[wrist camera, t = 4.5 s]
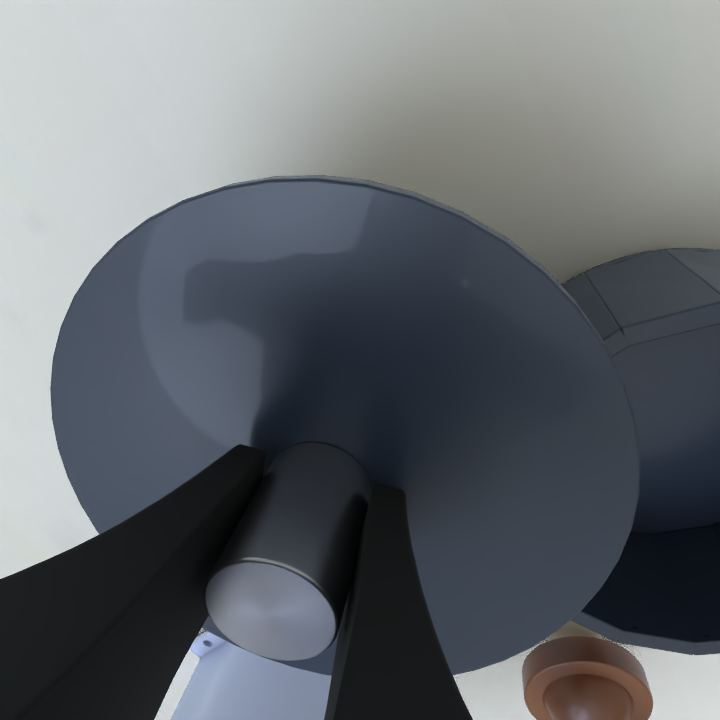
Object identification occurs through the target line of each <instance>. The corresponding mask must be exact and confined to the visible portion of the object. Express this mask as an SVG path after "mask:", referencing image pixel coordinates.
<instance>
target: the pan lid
mask: <svg viewBox="0 0 720 720" xmlns="http://www.w3.org/2000/svg"><path fill="white" fill-rule="evenodd" d="M50 390H51V406H52V420H53V425H54V430H55V435H56V440H57V445H58V450H59V452H60V455H61V458H62V461H63V464H64V467H65V470H66V473H67V476H68V479H69V481H70V483H71V485H72V487H73V489H74V491H75V493H76V496H77V498H78V500H79V502H80V504H81V506H82V507H83V509H84V511H85V512H86V514H87V516H88V517H89V519H90V520H91V522H92V524H93V525H94V527H95V529H96V530H97V532H98V533H99V534H101V533H103V532H105V531H107V530H109V529H111V528H112V527H114V526H116V525H118V524H120V523H121V522H123V521H125V520H127V519H128V518H130V517H132V516H133V515H135V514H136V513H138V512H140V511H141V510H143V509H145V508H146V507H148V506H150V505H151V504H153V503H155V502H156V501H158V500H159V499H161V498H163V497H164V496H166V495H167V494H169V493H170V492H172V491H173V490H175V489H176V488H178V487H179V486H181V485H182V484H183V483H185V482H186V481H188V480H189V479H191V478H192V477H194V476H195V475H197V474H198V473H199V472H201V471H202V470H204V469H205V468H206V467H208V466H209V465H210V464H212V463H213V462H215V461H216V460H217V459H219V458H220V457H221V456H223V455H224V454H225V453H227V452H228V451H229V450H231V449H232V448H233V447H235V446H237V445H239V444H242V445H246V446H249V447H253V448H256V449H260V450H264V451H266V458H265V465H264V472H263V479H262V481H261V483H260V485H259V487H258V489H257V490H256V492H255V494H254V496H253V498H252V499H251V501H250V503H249V505H248V507H247V508H246V510H245V512H244V514H243V516H242V517H241V519H240V521H239V523H238V525H237V526H236V528H235V530H234V532H233V534H232V535H231V537H230V539H229V541H228V543H227V544H226V546H225V548H224V550H223V552H222V553H221V555H220V557H219V559H218V561H217V562H216V564H215V566H214V568H213V570H212V571H211V573H210V575H209V577H208V579H207V580H206V583H205V587H204V603H205V607H206V610H207V612H208V615H209V616H208V617H207V619H206V621H205V623H204V624H203V626H202V628H203V629H205V630H207V631H208V632H210V633H212V634H214V635H216V636H218V637H220V638H221V639H223V640H225V641H227V642H229V643H231V644H233V645H235V646H237V647H240V648H242V649H244V650H247V651H249V652H251V653H254V654H256V655H258V656H261V657H263V658H266V659H269V660H272V661H275V662H278V663H281V664H284V665H287V666H290V667H294V668H298V669H302V670H306V671H310V672H314V673H318V674H323V675H329V676H332V670H333V664H334V658H335V652H336V646H337V639H338V633H339V628H340V624H341V620H342V616H343V612H344V608H345V604H346V600H347V596H348V592H349V588H350V584H351V580H352V576H353V572H354V568H355V563H356V558H357V552H358V546H359V540H360V536H361V532H362V528H363V524H364V520H365V517H366V513H367V509H368V505H369V501H370V498H371V494H372V490H373V486H374V482H377V483H381V484H384V485H388V486H391V487H395V488H398V489H402V490H403V491H404V493H405V494H406V506H407V518H408V525H409V532H410V538H411V543H412V548H413V553H414V557H415V562H416V566H417V570H418V574H419V579H420V582H421V586H422V590H423V593H424V597H425V600H426V603H427V607H428V610H429V613H430V616H431V619H432V622H433V625H434V628H435V631H436V634H437V637H438V640H439V643H440V645H441V648H442V650H443V653H444V656H445V658H446V661H447V663H448V666H449V668H450V671H451V673H452V675H456V674H461V673H465V672H470V671H474V670H477V669H480V668H483V667H486V666H489V665H492V664H495V663H498V662H501V661H504V660H506V659H508V658H510V657H512V656H515V655H517V654H519V653H521V652H523V651H525V650H527V649H529V648H531V647H533V646H535V645H536V644H538V643H539V642H541V641H542V640H544V639H546V638H547V637H549V636H550V635H552V634H553V633H555V632H556V631H558V630H559V629H560V628H561V627H563V626H564V625H565V624H566V623H567V622H569V621H570V620H571V619H572V618H573V617H574V616H576V615H577V614H578V613H579V612H580V611H581V610H582V609H583V608H584V607H585V606H586V605H587V603H588V602H589V601H590V600H591V599H592V598H593V597H594V595H595V594H596V593H597V592H598V591H599V590H600V589H601V587H602V586H603V584H604V583H605V581H606V580H607V578H608V576H609V575H610V573H611V572H612V570H613V568H614V567H615V565H616V564H617V562H618V560H619V558H620V556H621V553H622V551H623V548H624V546H625V544H626V541H627V539H628V536H629V534H630V532H631V529H632V525H633V520H634V516H635V511H636V507H637V502H638V498H639V487H640V464H641V457H640V449H639V442H638V434H637V426H636V420H635V417H634V414H633V410H632V407H631V404H630V401H629V397H628V394H627V391H626V388H625V384H624V382H623V380H622V378H621V376H620V373H619V371H618V369H617V367H616V365H615V363H614V361H613V359H612V357H611V355H610V353H609V351H608V349H607V347H606V345H605V343H604V342H603V340H602V338H601V336H600V334H599V333H598V332H597V330H596V329H595V327H594V326H593V325H592V323H591V322H590V320H589V319H588V318H587V316H586V315H585V313H584V312H583V310H582V309H581V308H580V306H579V305H578V303H577V302H576V301H575V299H574V298H573V297H572V296H571V295H570V294H569V293H568V292H567V291H566V290H565V289H564V288H563V287H562V286H561V285H560V284H559V283H558V281H557V280H556V279H555V278H554V277H553V276H552V275H551V274H550V273H549V272H548V271H547V270H546V269H545V268H544V267H543V266H542V265H541V264H539V263H538V262H537V261H536V260H534V259H533V258H532V257H531V256H529V255H528V254H527V253H525V252H524V251H523V250H522V249H520V248H519V247H518V246H516V245H515V244H514V243H513V242H511V241H510V240H509V239H508V238H506V237H505V236H503V235H502V234H500V233H498V232H496V231H495V230H493V229H491V228H490V227H488V226H486V225H484V224H483V223H481V222H479V221H477V220H476V219H474V218H472V217H471V216H469V215H467V214H465V213H464V212H462V211H459V210H457V209H454V208H452V207H450V206H447V205H445V204H442V203H440V202H437V201H435V200H433V199H430V198H428V197H425V196H423V195H420V194H418V193H415V192H411V191H407V190H403V189H399V188H396V187H392V186H388V185H384V184H380V183H376V182H373V181H368V180H359V179H351V178H342V177H334V176H325V175H306V176H274V177H268V178H263V179H257V180H251V181H245V182H239V183H233V184H230V185H227V186H224V187H221V188H218V189H215V190H212V191H209V192H206V193H203V194H200V195H197V196H194V197H191V198H188V199H185V200H183V201H181V202H179V203H177V204H175V205H173V206H171V207H169V208H167V209H165V210H163V211H162V212H160V213H158V214H156V215H154V216H152V217H150V218H148V219H147V220H145V221H144V222H143V223H141V224H140V225H139V226H137V227H136V228H135V229H133V230H132V231H131V232H129V233H128V234H127V235H125V236H124V237H123V238H122V239H120V240H119V241H118V242H117V243H116V244H115V245H114V246H113V247H112V248H111V249H110V250H109V251H108V252H107V253H106V254H105V255H104V256H103V258H102V259H101V260H100V261H99V262H98V263H97V264H96V265H95V266H94V267H93V268H92V270H91V271H90V273H89V275H88V276H87V278H86V279H85V281H84V282H83V284H82V285H81V287H80V288H79V290H78V291H77V293H76V294H75V296H74V298H73V300H72V302H71V305H70V307H69V309H68V312H67V314H66V316H65V319H64V321H63V323H62V325H61V328H60V332H59V336H58V340H57V344H56V348H55V352H54V356H53V365H52V376H51V388H50Z"/></svg>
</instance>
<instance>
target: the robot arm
mask: <svg viewBox="0 0 720 720" xmlns="http://www.w3.org/2000/svg"><path fill="white" fill-rule="evenodd" d="M265 458H266V451H264V450H260V449H256V448H253V447H249V446H246V445H242V444H239V445H237V446H235V447H233V448H232V449H231V450H229V451H228V452H227V453H225V454H224V455H223V456H221V457H220V458H219V459H217V460H216V461H215V462H213V463H212V464H210V465H209V466H208V467H206V468H205V469H204V470H202V471H201V472H199V473H198V474H197V475H195V476H194V477H192V478H191V479H189V480H188V481H186V482H185V483H183V484H182V485H181V486H179V487H178V488H176V489H175V490H173V491H172V492H170V493H169V494H167V495H166V496H164V497H163V498H161V499H159V500H158V501H156V502H155V503H153V504H151V505H150V506H148V507H146V508H145V509H143V510H141V511H140V512H138V513H136V514H135V515H133V516H132V517H130V518H128V519H127V520H125V521H123V522H121V523H120V524H118V525H116V526H114V527H112V528H111V529H109V530H107V531H105V532H103V533H101V534H99V535H98V536H96V537H94V538H92V539H90V540H88V541H86V542H84V543H82V544H80V545H78V546H76V547H74V548H72V549H70V550H67V551H65V552H63V553H61V554H59V555H56V556H54V557H52V558H50V559H48V560H45V561H43V562H41V563H38V564H36V565H34V566H31V567H29V568H27V569H24V570H22V571H20V572H17V573H15V574H12V575H10V576H7V577H5V578H2V579H0V720H154V719H155V717H156V714H157V712H158V710H159V708H160V706H161V704H162V701H163V699H164V697H165V695H166V693H167V691H168V689H169V686H170V684H171V682H172V680H173V678H174V676H175V674H176V672H177V670H178V669H179V667H180V665H181V663H182V661H183V659H184V657H185V655H186V654H187V652H188V650H189V649H191V651H192V652H193V653H194V654H196V655H197V656H198V657H199V658H201V659H200V661H199V663H198V665H197V667H196V669H195V671H194V673H193V675H192V677H191V679H190V681H189V683H188V685H187V687H186V689H185V691H184V693H183V695H182V697H181V699H180V701H179V703H178V706H177V708H176V710H175V712H174V714H173V716H172V718H171V720H473V719H472V717H471V715H470V713H469V711H468V709H467V707H466V705H465V703H464V701H463V699H462V696H461V694H460V692H459V690H458V687H457V685H456V682H455V680H454V678H453V675H452V673H451V671H450V668H449V666H448V663H447V661H446V658H445V656H444V653H443V650H442V648H441V645H440V643H439V640H438V637H437V634H436V631H435V628H434V625H433V622H432V619H431V616H430V613H429V610H428V607H427V603H426V600H425V597H424V593H423V590H422V586H421V582H420V579H419V574H418V570H417V566H416V562H415V557H414V553H413V548H412V543H411V538H410V532H409V525H408V518H407V506H406V494H405V493H404V491H403V490H402V489H398V488H395V487H391V486H388V485H384V484H381V483H377V482H374V486H373V490H372V494H371V498H370V501H369V505H368V509H367V513H366V517H365V520H364V524H363V528H362V532H361V536H360V540H359V546H358V552H357V558H356V563H355V568H354V572H353V576H352V580H351V584H350V588H349V592H348V596H347V600H346V604H345V608H344V612H343V616H342V620H341V624H340V628H339V633H338V639H337V646H336V652H335V658H334V664H333V670H332V676H329V675H323V674H318V673H314V672H310V671H306V670H302V669H298V668H294V667H290V666H287V665H284V664H281V663H278V662H275V661H272V660H269V659H266V658H263V657H261V656H258V655H256V654H254V653H251V652H249V651H247V650H244V649H242V648H240V647H237V646H235V645H233V644H231V643H229V642H227V641H225V640H223V639H221V638H220V637H218V636H216V635H214V634H212V633H210V632H208V631H206V632H204V633H203V634H201V635H199V636H198V637H196V636H197V635H198V633H199V631H200V629H201V628H202V626H203V624H204V623H205V621H206V619H207V617H208V616H209V615H208V612H207V610H206V607H205V603H204V587H205V583H206V580H207V579H208V577H209V575H210V573H211V571H212V570H213V568H214V566H215V564H216V562H217V561H218V559H219V557H220V555H221V553H222V552H223V550H224V548H225V546H226V544H227V543H228V541H229V539H230V537H231V535H232V534H233V532H234V530H235V528H236V526H237V525H238V523H239V521H240V519H241V517H242V516H243V514H244V512H245V510H246V508H247V507H248V505H249V503H250V501H251V499H252V498H253V496H254V494H255V492H256V490H257V489H258V487H259V485H260V483H261V481H262V479H263V472H264V465H265Z"/></svg>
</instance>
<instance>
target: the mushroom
mask: <svg viewBox="0 0 720 720" xmlns="http://www.w3.org/2000/svg"><path fill="white" fill-rule="evenodd" d="M522 678H523V689H524V699H525V703H526V705H527V707H528V709H529V711H530V712H531V714H532V715H533V716H534V717H535V718H536V719H537V720H648V719H649V717H650V715H651V712H652V708H653V699H652V695H651V691H650V688H649V685H648V681H647V678H646V675H645V672H644V669H643V667H642V665H641V664H640V662H639V661H638V660H637V659H636V658H635V656H633V655H632V654H631V653H630V652H629V651H627V650H626V649H624V648H623V647H621V646H619V645H617V644H615V643H612V642H610V641H606V640H603V636H602V635H600V634H597V633H595V632H593V631H591V630H589V629H587V628H585V627H583V626H580V625H578V624H576V623H574V622H572V621H569V622H567V623H566V624H565V625H564V626H563V627H561V628H560V629H559V630H558V631H556V632H555V633H553V634H552V635H550V636H549V637H548V641H547V642H545V643H543V644H541V645H539V646H538V647H536V648H535V649H534V650H532V651H531V652H530V654H529V655H528V656H527V658H526V659H525V661H524V664H523V667H522Z"/></svg>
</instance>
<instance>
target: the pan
mask: <svg viewBox="0 0 720 720" xmlns="http://www.w3.org/2000/svg"><path fill="white" fill-rule="evenodd" d="M561 286H562V287H563V288H564V289H565V290H566V291H567V292H568V293H569V294H570V295H571V296H572V297H573V298H574V299H575V301H576V302H577V303H578V305H579V306H580V308H581V309H582V310H583V312H584V313H585V315H586V316H587V318H588V319H589V320H590V322H591V323H592V325H593V326H594V327H595V329H596V330H597V332H598V333H599V334H600V336H601V338H602V340H603V342H604V343H605V345H606V347H607V349H608V351H609V353H610V355H611V357H612V359H613V361H614V363H615V365H616V367H617V369H618V371H619V373H620V376H621V378H622V380H623V382H624V384H625V388H626V391H627V394H628V397H629V401H630V404H631V407H632V410H633V414H634V417H635V420H636V426H637V434H638V442H639V449H640V457H641V464H640V487H639V498H638V502H637V507H636V511H635V516H634V520H633V525H632V529H631V532H630V534H629V536H628V539H627V541H626V544H625V546H624V548H623V551H622V553H621V556H620V558H619V560H618V562H617V564H616V565H615V567H614V568H613V570H612V572H611V573H610V575H609V576H608V578H607V580H606V581H605V583H604V584H603V586H602V587H601V589H600V590H599V591H598V592H597V593H596V594H595V595H594V597H593V598H592V599H591V600H590V601H589V602H588V603H587V605H586V606H585V607H584V608H583V609H582V610H581V611H580V612H579V613H578V614H577V615H576V616H574V617H573V618H572V619H571V620H570V621H572V622H574V623H576V624H578V625H580V626H583V627H585V628H587V629H589V630H591V631H593V632H595V633H597V634H600V635H602V636H604V637H606V638H608V639H610V640H612V641H615V642H616V641H617V642H618V643H623V644H629V645H635V646H641V647H647V648H653V649H659V650H665V651H671V652H677V653H683V654H689V655H693V654H694V655H706V654H719V653H720V251H719V250H710V249H702V248H673V249H665V250H657V251H648V252H643V253H639V254H635V255H631V256H626V257H622V258H619V259H616V260H613V261H610V262H608V263H605V264H602V265H599V266H597V267H594V268H592V269H590V270H588V271H586V272H584V273H582V274H580V275H578V276H576V277H574V278H572V279H571V280H569V281H567V282H566V283H564V284H563V285H561Z"/></svg>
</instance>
